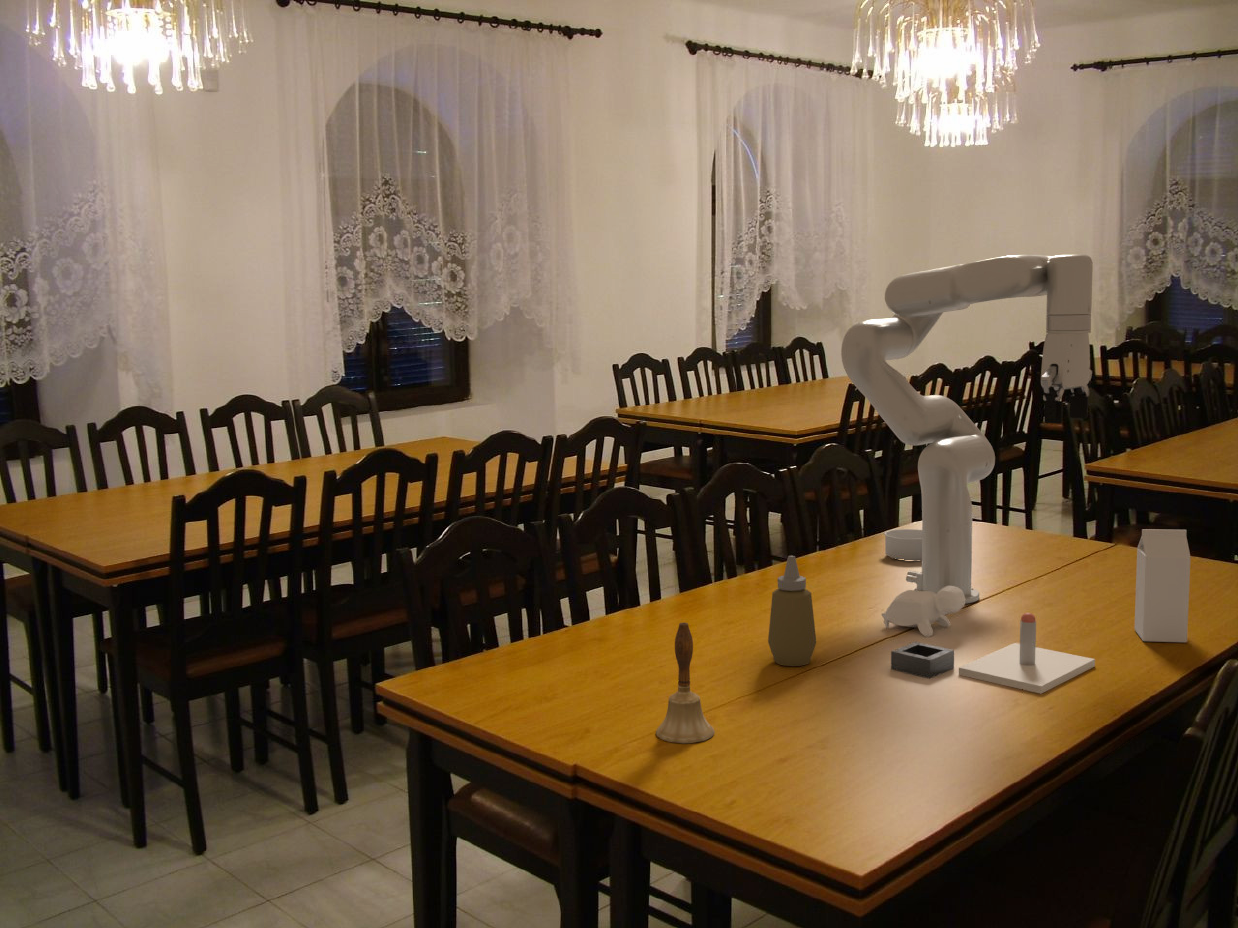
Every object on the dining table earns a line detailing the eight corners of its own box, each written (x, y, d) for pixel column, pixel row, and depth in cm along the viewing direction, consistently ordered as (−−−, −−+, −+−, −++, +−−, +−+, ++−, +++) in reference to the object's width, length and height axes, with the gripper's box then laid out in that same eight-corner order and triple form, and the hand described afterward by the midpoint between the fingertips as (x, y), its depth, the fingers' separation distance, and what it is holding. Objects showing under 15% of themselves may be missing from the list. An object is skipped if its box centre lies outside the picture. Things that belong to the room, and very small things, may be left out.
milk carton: (1187, 643, 210) (1191, 534, 208) (1142, 642, 212) (1146, 533, 209) (1177, 631, 217) (1181, 525, 215) (1134, 630, 219) (1137, 525, 216)
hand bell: (652, 724, 179) (650, 617, 176) (709, 721, 179) (707, 614, 177) (659, 745, 170) (657, 633, 168) (719, 742, 171) (717, 630, 169)
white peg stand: (958, 674, 197) (959, 616, 196) (1014, 649, 209) (1015, 595, 208) (1041, 693, 187) (1042, 633, 186) (1094, 666, 199) (1096, 609, 198)
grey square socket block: (891, 669, 201) (891, 651, 200) (915, 659, 206) (915, 641, 205) (929, 678, 196) (930, 660, 195) (953, 667, 201) (954, 649, 200)
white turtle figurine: (887, 646, 223) (961, 629, 214) (872, 601, 224) (944, 582, 215) (909, 635, 230) (981, 618, 220) (894, 592, 231) (965, 572, 221)
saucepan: (949, 571, 266) (950, 546, 265) (873, 558, 281) (873, 534, 280) (978, 562, 274) (979, 538, 273) (902, 550, 288) (902, 526, 288)
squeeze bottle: (820, 656, 208) (820, 552, 206) (812, 671, 201) (811, 563, 198) (773, 653, 211) (772, 550, 208) (763, 667, 203) (762, 560, 201)
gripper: (1070, 322, 228) (1068, 415, 231) (1025, 326, 216) (1023, 424, 219) (1110, 323, 223) (1107, 417, 225) (1066, 327, 211) (1063, 426, 213)
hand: (1066, 420), depth 222 cm, fingers open, 9 cm apart
